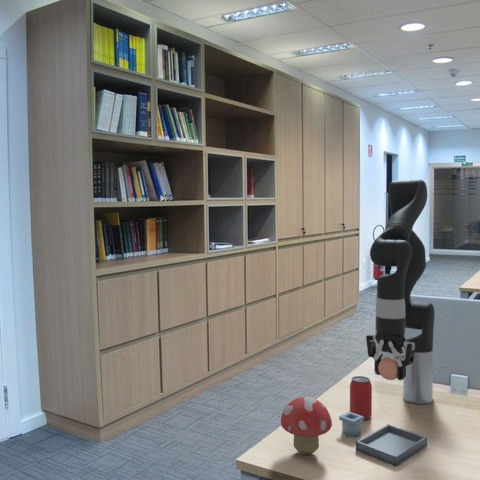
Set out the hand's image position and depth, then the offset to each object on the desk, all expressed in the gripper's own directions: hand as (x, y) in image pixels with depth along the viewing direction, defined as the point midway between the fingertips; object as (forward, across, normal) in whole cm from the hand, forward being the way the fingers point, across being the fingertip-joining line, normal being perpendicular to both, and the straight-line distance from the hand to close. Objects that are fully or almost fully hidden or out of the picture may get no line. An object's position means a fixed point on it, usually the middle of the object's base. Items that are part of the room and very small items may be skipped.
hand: (389, 376), depth 140 cm
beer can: (+20, +18, -12) cm, 29 cm away
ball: (+1, 0, 0) cm, 1 cm away
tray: (+20, -1, 0) cm, 20 cm away
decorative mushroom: (+20, +13, +19) cm, 30 cm away
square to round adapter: (+20, +12, 0) cm, 23 cm away
